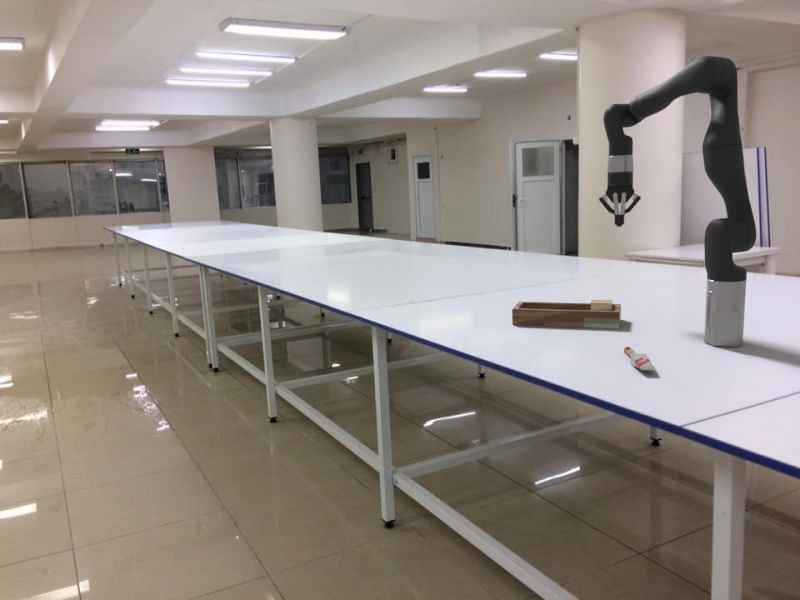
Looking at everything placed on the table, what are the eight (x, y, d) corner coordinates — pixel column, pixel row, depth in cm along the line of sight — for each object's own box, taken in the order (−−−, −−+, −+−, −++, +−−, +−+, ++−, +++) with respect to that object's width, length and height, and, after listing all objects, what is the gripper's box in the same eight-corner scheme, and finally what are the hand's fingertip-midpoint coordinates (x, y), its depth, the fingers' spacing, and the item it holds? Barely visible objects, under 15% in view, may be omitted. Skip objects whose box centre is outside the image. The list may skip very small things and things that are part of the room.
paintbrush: (640, 363, 145) (619, 344, 165) (640, 375, 146) (619, 355, 165) (657, 363, 145) (635, 344, 164) (657, 375, 145) (635, 354, 165)
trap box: (618, 328, 189) (619, 312, 188) (512, 324, 201) (512, 309, 200) (620, 319, 200) (620, 304, 199) (519, 316, 212) (519, 301, 211)
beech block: (611, 315, 193) (611, 303, 192) (590, 315, 195) (590, 302, 194) (612, 312, 197) (612, 299, 196) (592, 311, 199) (592, 299, 199)
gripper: (597, 171, 195) (596, 228, 198) (642, 169, 190) (641, 227, 193) (598, 171, 202) (598, 225, 205) (643, 169, 197) (641, 225, 200)
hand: (619, 226), depth 199 cm, fingers closed
